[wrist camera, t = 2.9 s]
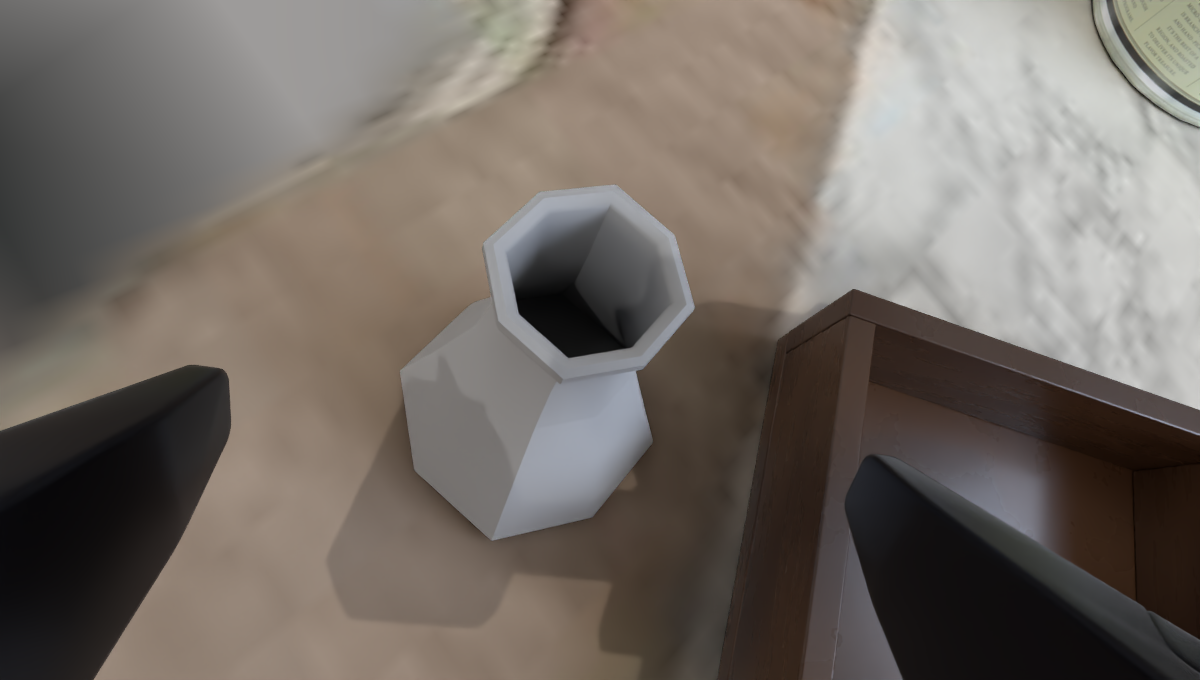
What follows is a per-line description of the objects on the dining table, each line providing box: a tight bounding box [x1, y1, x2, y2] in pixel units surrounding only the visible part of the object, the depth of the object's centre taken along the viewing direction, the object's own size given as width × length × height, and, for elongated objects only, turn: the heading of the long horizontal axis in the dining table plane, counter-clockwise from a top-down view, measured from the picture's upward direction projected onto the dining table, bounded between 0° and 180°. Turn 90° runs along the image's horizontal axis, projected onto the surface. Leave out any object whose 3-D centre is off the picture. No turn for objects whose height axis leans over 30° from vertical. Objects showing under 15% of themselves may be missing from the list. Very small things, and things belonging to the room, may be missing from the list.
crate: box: [717, 289, 1200, 680], centre depth 18 cm, size 13×14×4 cm
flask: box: [400, 185, 695, 541], centre depth 14 cm, size 7×7×10 cm
